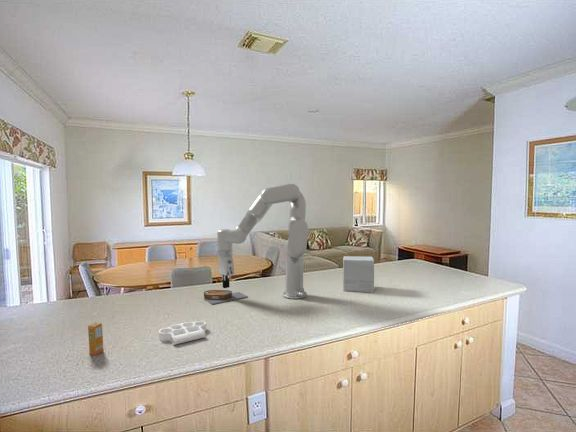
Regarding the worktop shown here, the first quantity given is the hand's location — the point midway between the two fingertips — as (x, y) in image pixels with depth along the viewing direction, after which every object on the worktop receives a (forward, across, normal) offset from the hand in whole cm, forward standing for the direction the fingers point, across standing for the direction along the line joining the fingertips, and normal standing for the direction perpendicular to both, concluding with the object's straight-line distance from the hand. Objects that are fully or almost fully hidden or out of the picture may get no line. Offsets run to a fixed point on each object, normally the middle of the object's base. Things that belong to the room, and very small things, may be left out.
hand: (226, 287), depth 172 cm
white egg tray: (+6, -34, +33) cm, 48 cm away
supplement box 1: (+5, -30, +62) cm, 69 cm away
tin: (+4, +6, +1) cm, 7 cm away
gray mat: (+6, -1, 0) cm, 6 cm away
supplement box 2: (+7, -29, -70) cm, 76 cm away
